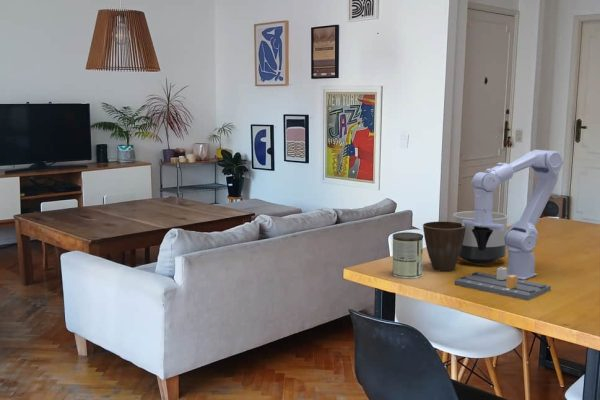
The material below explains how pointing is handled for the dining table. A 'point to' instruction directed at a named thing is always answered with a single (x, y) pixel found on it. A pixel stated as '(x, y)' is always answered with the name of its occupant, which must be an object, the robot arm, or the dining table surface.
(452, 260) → the plant pot
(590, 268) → the dining table surface
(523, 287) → the console
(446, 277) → the dining table surface
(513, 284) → the orange fader knob
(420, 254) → the coffee can
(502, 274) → the grey fader knob
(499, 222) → the planter
